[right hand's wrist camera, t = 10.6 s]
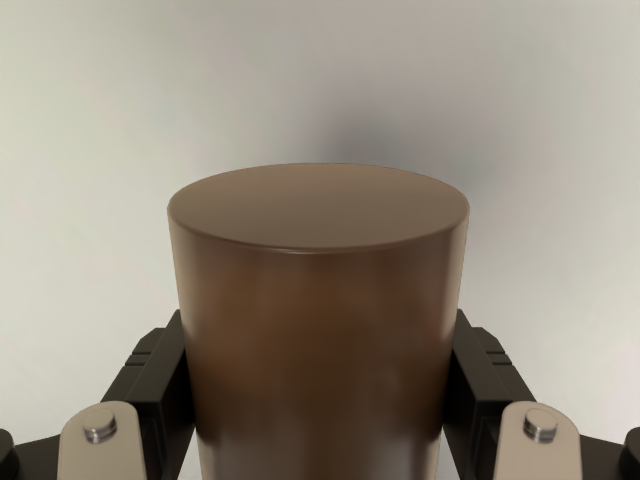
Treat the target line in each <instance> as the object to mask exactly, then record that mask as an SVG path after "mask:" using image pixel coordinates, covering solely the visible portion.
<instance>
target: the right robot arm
mask: <svg viewBox="0 0 640 480" xmlns="http://www.w3.org/2000/svg"><path fill="white" fill-rule="evenodd" d="M442 427H443V430H444V433H445V436H446V439H447V442H448V445H449V448H450V451H451V454H452V457H453V460H454V463H455V466H456V469H457V472H458V475H459V478H460V480H640V427H636V428H634V429H631V430H630V431H629V432H628V434H627V435H626V438H625V441H624V444H623V445H621V444H617V443H613V442H609V441H604V440H600V439H596V438H592V437H588V436H584V435H580V434H579V432H578V430H577V428H576V426H575V425H574V423H573V422H572V421H571V420H570V419H569V418H568V417H567V416H565V415H564V414H563V413H561V412H560V411H558V410H556V409H554V408H552V407H550V406H548V405H545V404H542V403H538V402H537V401H536V400H535V398H534V396H533V395H532V393H531V392H530V390H529V389H528V387H527V385H526V384H525V382H524V381H523V379H522V378H521V376H520V374H519V373H518V371H517V370H516V368H515V366H512V362H511V360H510V359H509V357H508V355H507V354H505V351H504V349H503V348H502V346H501V344H500V343H499V341H498V340H497V338H495V337H494V336H493V335H491V334H490V333H489V332H487V331H486V330H485V329H483V328H482V327H471V325H470V324H469V322H468V320H467V318H466V316H465V315H464V313H463V311H462V310H461V309H457V314H456V322H455V330H454V337H453V345H452V353H451V361H450V369H449V376H448V384H447V392H446V400H445V408H444V415H443V423H442ZM194 429H195V419H194V411H193V404H192V396H191V389H190V381H189V373H188V366H187V358H186V351H185V343H184V335H183V328H182V320H181V313H180V309H177V310H176V311H175V313H174V314H173V316H172V318H171V320H170V321H169V323H168V325H167V327H166V328H155V329H154V330H152V331H151V332H150V333H148V334H147V335H146V336H144V337H143V338H141V339H140V341H139V342H138V344H137V345H136V347H135V349H134V350H133V352H132V355H130V356H129V358H128V360H127V361H126V363H125V366H123V367H122V369H121V370H120V372H119V374H118V375H117V377H116V378H115V380H114V381H113V383H112V384H111V386H110V388H109V389H108V391H107V392H106V394H105V395H104V397H103V398H102V400H101V402H100V403H98V404H95V405H92V406H90V407H88V408H86V409H84V410H82V411H80V412H79V413H77V414H76V415H75V416H73V417H72V418H71V419H70V420H69V421H68V422H67V423H66V425H65V426H64V428H63V430H62V432H61V434H59V435H56V436H53V437H49V438H45V439H41V440H37V441H32V442H28V443H24V444H20V445H14V442H13V439H12V436H11V434H10V433H9V432H8V431H6V430H4V429H0V480H177V479H178V476H179V473H180V470H181V467H182V464H183V461H184V458H185V455H186V452H187V449H188V446H189V443H190V440H191V437H192V435H193V432H194Z"/></svg>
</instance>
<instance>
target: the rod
mask: <svg viewBox="0 0 640 480" xmlns="http://www.w3.org/2000/svg"><path fill="white" fill-rule="evenodd" d="M469 212H470V207H469V204H468V201H467V199H466V198H465V196H464V195H463V194H462V193H461V192H459V191H458V190H457V189H455V188H453V187H452V186H450V185H448V184H446V183H443V182H441V181H439V180H436V179H433V178H430V177H427V176H424V175H420V174H416V173H413V172H408V171H403V170H398V169H392V168H386V167H378V166H369V165H359V164H343V163H295V164H279V165H269V166H260V167H252V168H246V169H240V170H235V171H230V172H225V173H221V174H218V175H214V176H210V177H207V178H204V179H201V180H199V181H197V182H194V183H192V184H189V185H188V186H186V187H184V188H182V189H181V190H179V191H178V192H177V193H175V194H174V195H173V197H172V198H171V199H170V201H169V204H168V207H167V214H168V221H169V229H170V237H171V244H172V252H173V259H174V267H175V275H176V282H177V290H178V297H179V305H180V313H181V320H182V328H183V335H184V343H185V351H186V358H187V366H188V373H189V381H190V389H191V396H192V404H193V411H194V419H195V427H196V434H197V442H198V449H199V457H200V465H201V472H202V480H435V478H436V470H437V462H438V454H439V446H440V439H441V431H442V423H443V415H444V408H445V400H446V392H447V384H448V376H449V369H450V361H451V353H452V345H453V337H454V330H455V322H456V314H457V306H458V298H459V291H460V283H461V275H462V267H463V259H464V252H465V244H466V236H467V228H468V221H469Z"/></svg>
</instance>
